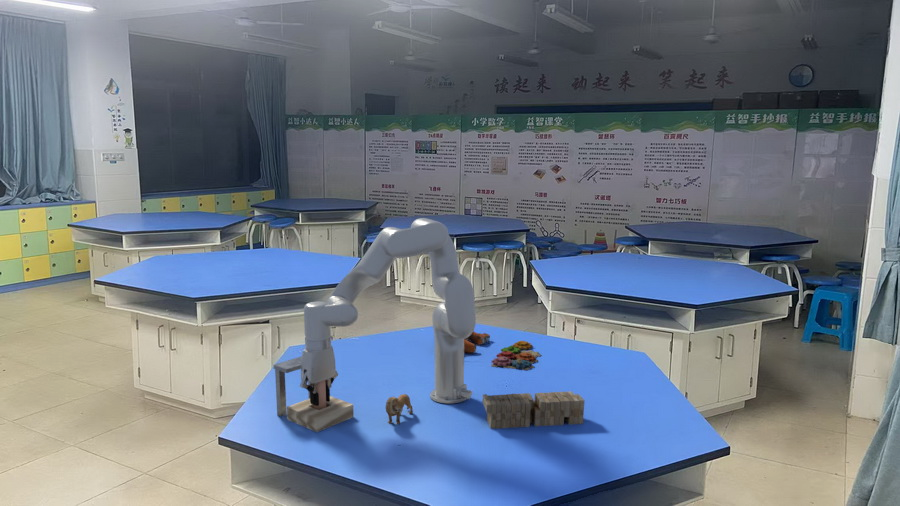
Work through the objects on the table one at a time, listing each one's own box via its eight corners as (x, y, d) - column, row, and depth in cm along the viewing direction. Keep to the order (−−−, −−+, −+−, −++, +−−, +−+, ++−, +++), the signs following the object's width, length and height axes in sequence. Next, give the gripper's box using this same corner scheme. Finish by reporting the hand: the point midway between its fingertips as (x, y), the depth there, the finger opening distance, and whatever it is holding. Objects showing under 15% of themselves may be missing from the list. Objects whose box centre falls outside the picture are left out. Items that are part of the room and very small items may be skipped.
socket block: (353, 417, 196) (353, 404, 195) (316, 432, 185) (316, 419, 185) (323, 405, 205) (323, 393, 204) (287, 419, 194) (286, 406, 194)
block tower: (575, 417, 198) (481, 418, 195) (576, 390, 197) (482, 392, 194) (583, 427, 191) (485, 429, 187) (584, 400, 189) (486, 402, 186)
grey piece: (328, 406, 204) (326, 356, 202) (288, 421, 193) (286, 369, 190) (315, 401, 208) (313, 352, 206) (275, 415, 197) (273, 364, 194)
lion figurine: (399, 430, 187) (398, 400, 185) (382, 428, 188) (381, 398, 187) (415, 410, 201) (415, 383, 199) (399, 409, 202) (399, 381, 201)
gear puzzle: (507, 344, 271) (508, 335, 270) (546, 348, 266) (546, 338, 265) (489, 368, 241) (489, 357, 241) (532, 372, 237) (532, 361, 236)
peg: (329, 413, 195) (327, 378, 193) (319, 417, 192) (318, 381, 191) (321, 410, 197) (320, 375, 196) (312, 414, 195) (310, 379, 193)
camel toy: (434, 352, 254) (477, 362, 250) (441, 319, 255) (483, 328, 251) (447, 349, 279) (486, 357, 275) (453, 319, 279) (492, 327, 276)
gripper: (331, 335, 200) (333, 391, 203) (287, 347, 188) (289, 407, 190) (347, 339, 195) (349, 397, 198) (303, 352, 183) (305, 414, 186)
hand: (320, 401), depth 194 cm, fingers closed on peg, 3 cm apart
